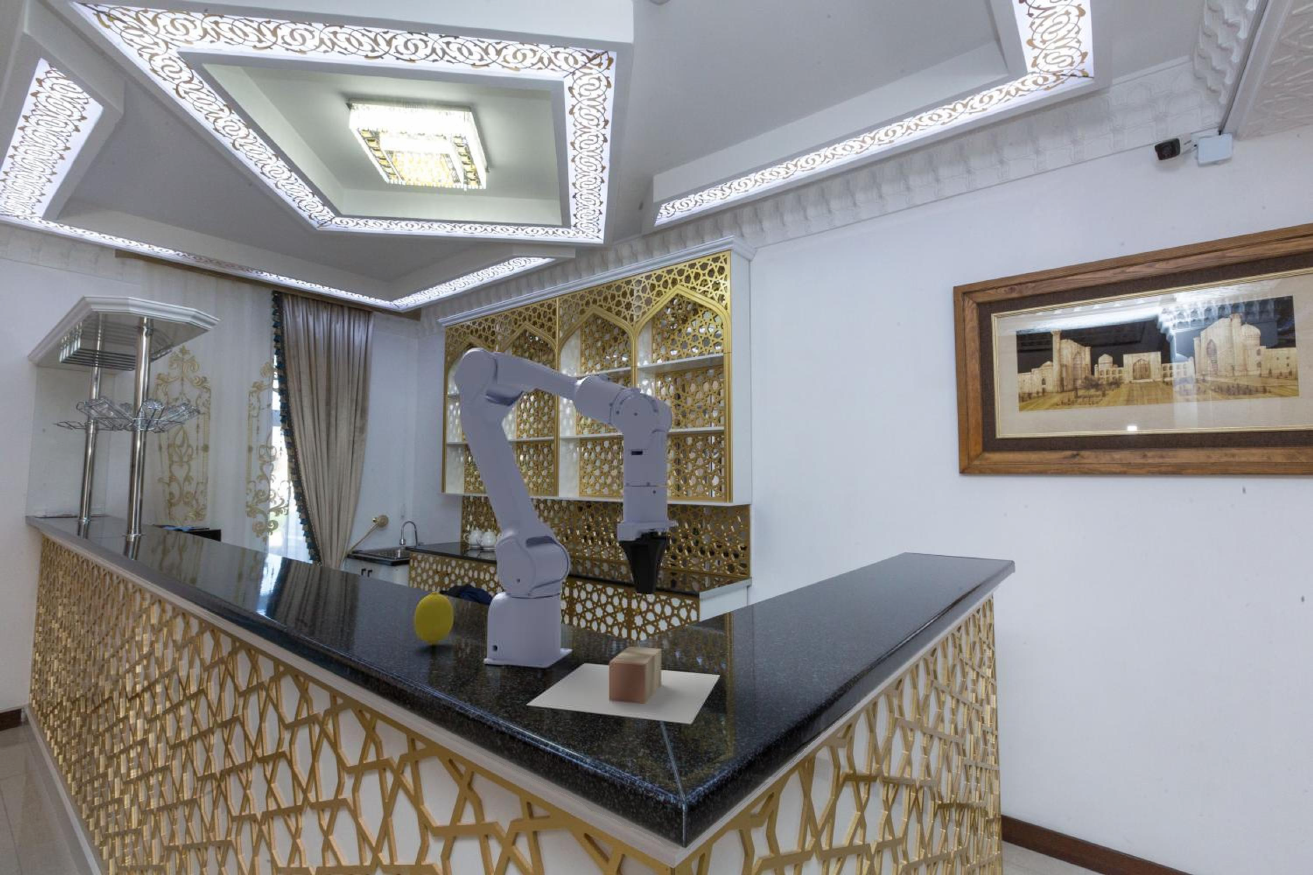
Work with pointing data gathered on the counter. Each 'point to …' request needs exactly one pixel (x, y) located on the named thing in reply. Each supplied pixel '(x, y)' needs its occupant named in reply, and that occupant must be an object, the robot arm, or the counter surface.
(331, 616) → the counter surface
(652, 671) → the maple block
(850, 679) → the counter surface
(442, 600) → the lemon
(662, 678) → the grey mat
